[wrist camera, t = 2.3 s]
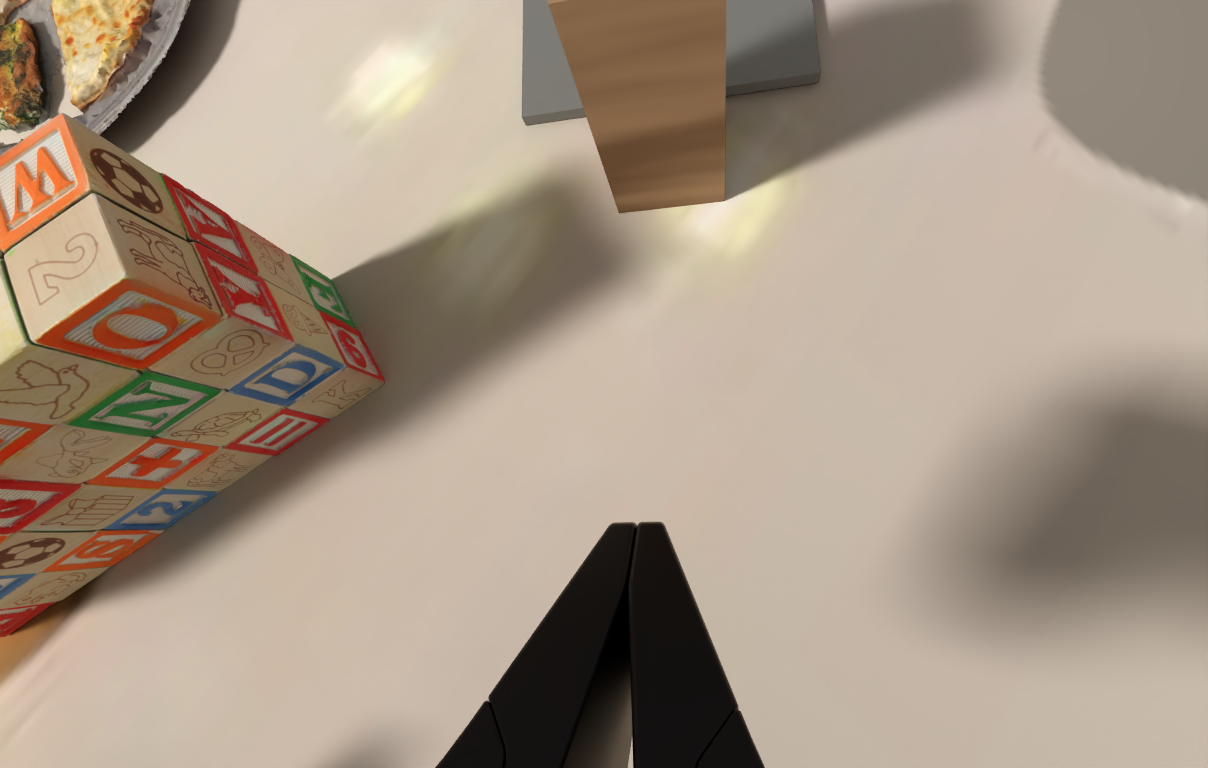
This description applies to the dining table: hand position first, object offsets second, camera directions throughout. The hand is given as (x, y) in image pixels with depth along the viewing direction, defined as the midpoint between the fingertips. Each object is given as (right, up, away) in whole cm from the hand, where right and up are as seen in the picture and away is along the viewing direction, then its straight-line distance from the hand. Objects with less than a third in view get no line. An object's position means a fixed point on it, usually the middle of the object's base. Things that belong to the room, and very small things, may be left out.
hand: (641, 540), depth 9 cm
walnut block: (+2, +12, +16) cm, 21 cm away
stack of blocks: (-21, -1, +18) cm, 28 cm away
